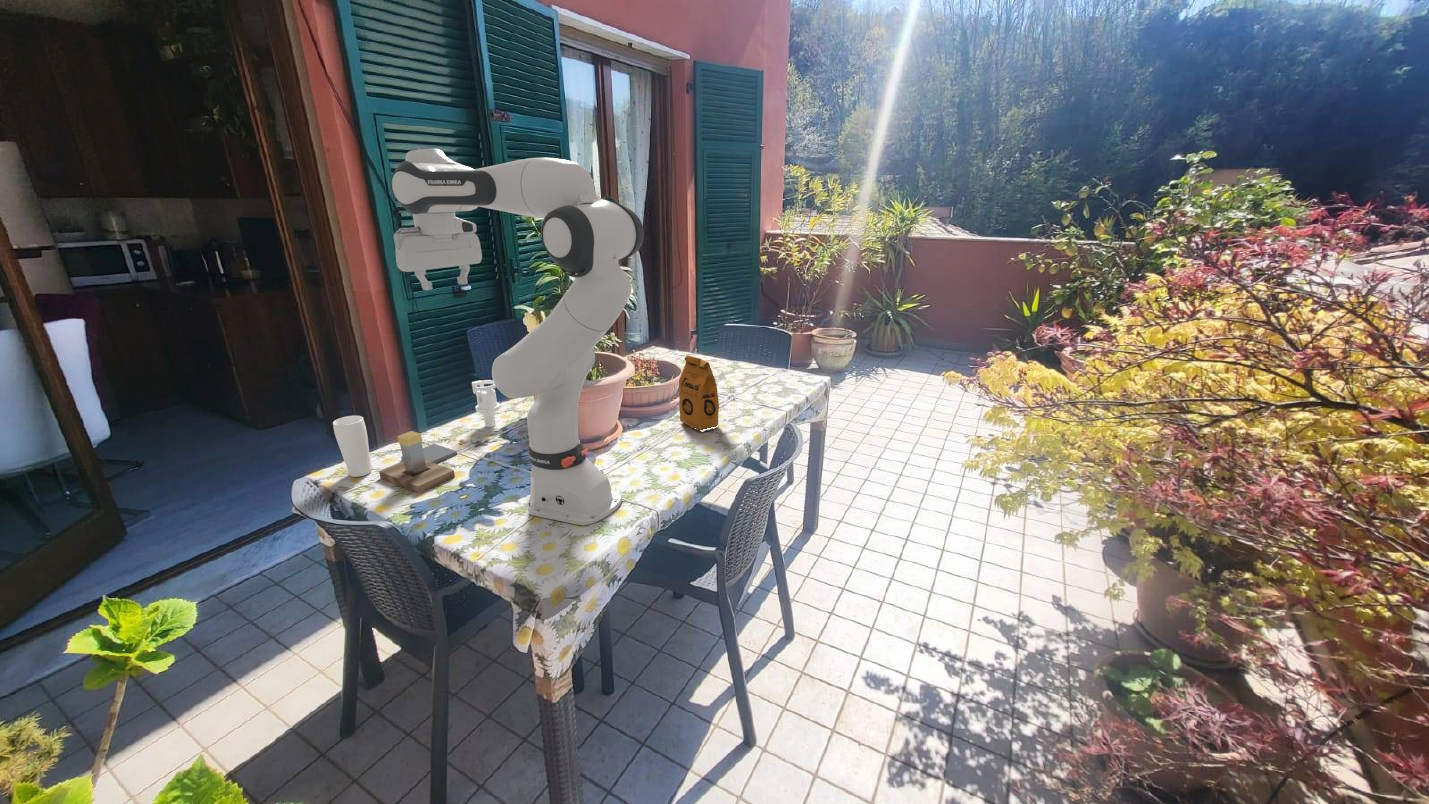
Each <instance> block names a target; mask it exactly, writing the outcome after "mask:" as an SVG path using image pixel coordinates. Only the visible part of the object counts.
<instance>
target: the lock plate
mask: <svg viewBox="0 0 1429 804" xmlns="http://www.w3.org/2000/svg"><path fill="white" fill-rule="evenodd" d="M425 462H426V467H427V471H426V472H423V473H421V474H419V475H416V476H414V477H412V476H410V475H407V474H406V470H405V466H404V461H403V460H401V462H398V463H395V464H392V465H389V466H388V467H385V468H383V469H381V470H378V473H379V478H380V479H382V480H384V481H386V482H389V483H392V484H394V485H397V486H399V487H402V488H405V489H406V490H409V491H412V492H414V493H417V494H423V493H424V492H426V491H428V490H430V489H432V488H435V487H436V486H438V485H441V484H443V483H445V482H447V481H449V480H451V479H454V478H455V477H456V475H455V471H454V469H452V468H450V467H446V466H444V465H441V464H438V463H436V464H435V463H433V462H430V461H427V460H425Z"/></svg>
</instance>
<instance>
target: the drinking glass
mask: <svg viewBox="0 0 1429 804" xmlns="http://www.w3.org/2000/svg"><path fill="white" fill-rule="evenodd" d="M332 426H333V432H334V436H335V439H336V441H337V444H338V447H339V449H340V450H339V451H340V452H341V455H342V458H343V460H344V464H345V466H346V469H347V474H348V476H349V477H352V478H360V477H365V476H367V475H369V474H370V473H372V470H373V467H372V463H371V462H372V461H371V455H370V454H371V453H370V448H369V438H368V432H367V427H366V423H365V420H364V417H363V416H361V415H348V416H343V417H340V418H337V419H335V420H334V421H333V422H332Z"/></svg>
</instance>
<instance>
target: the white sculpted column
mask: <svg viewBox="0 0 1429 804" xmlns="http://www.w3.org/2000/svg"><path fill="white" fill-rule="evenodd" d="M485 385H488V386H485ZM471 386H472V392H473V394H474V395H476V401H477V402H476V403H477V405H475V412H476V413H479V414H483V418H484V424H485V425H484V426H485V427H486V428H493V427H495V426H496V418H495V412H498V411H499V410H500V409H501V404H500V402H497V401H498V400H497V395H496V390H495V389H496V388H497V387H496V385H495V384H494V381H493V379H492V380H491V379H487V380H486V379H485V380H480V379H479V380H475V381H472V382H471Z"/></svg>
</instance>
